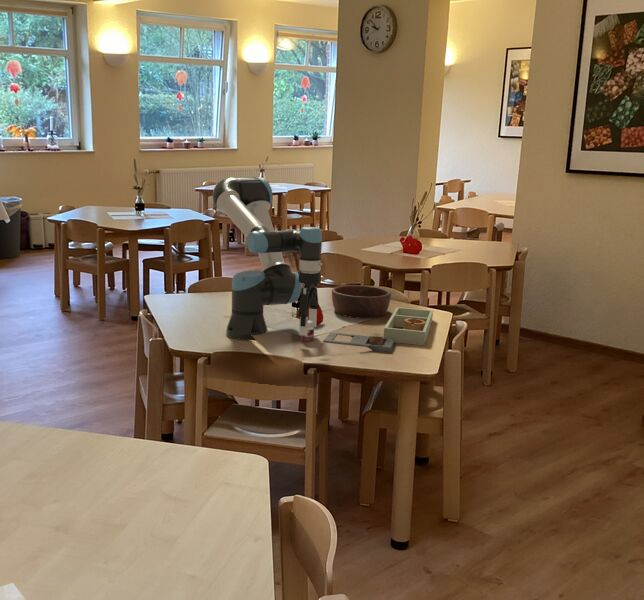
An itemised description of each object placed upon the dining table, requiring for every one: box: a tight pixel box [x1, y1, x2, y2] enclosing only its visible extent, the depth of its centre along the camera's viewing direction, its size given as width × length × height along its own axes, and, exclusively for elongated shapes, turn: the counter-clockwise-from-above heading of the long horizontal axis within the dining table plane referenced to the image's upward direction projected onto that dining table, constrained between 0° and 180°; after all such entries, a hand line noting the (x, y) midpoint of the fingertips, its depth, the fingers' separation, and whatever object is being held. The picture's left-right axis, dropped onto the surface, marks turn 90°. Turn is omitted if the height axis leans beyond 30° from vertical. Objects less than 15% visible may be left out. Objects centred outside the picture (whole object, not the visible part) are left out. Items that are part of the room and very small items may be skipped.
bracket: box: [402, 318, 426, 331], centre depth 296 cm, size 18×8×7 cm, turn 168°
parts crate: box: [383, 306, 434, 346], centre depth 292 cm, size 15×37×5 cm, turn 167°
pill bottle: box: [299, 320, 315, 343], centre depth 266 cm, size 5×5×8 cm
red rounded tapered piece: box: [296, 304, 324, 326], centre depth 290 cm, size 10×10×11 cm
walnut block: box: [369, 332, 384, 346], centre depth 268 cm, size 4×4×4 cm
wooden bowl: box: [331, 284, 392, 319], centre depth 316 cm, size 25×25×10 cm
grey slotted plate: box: [323, 332, 396, 354], centre depth 269 cm, size 24×12×2 cm, turn 77°
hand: (308, 330), depth 266 cm, fingers open, 13 cm apart
